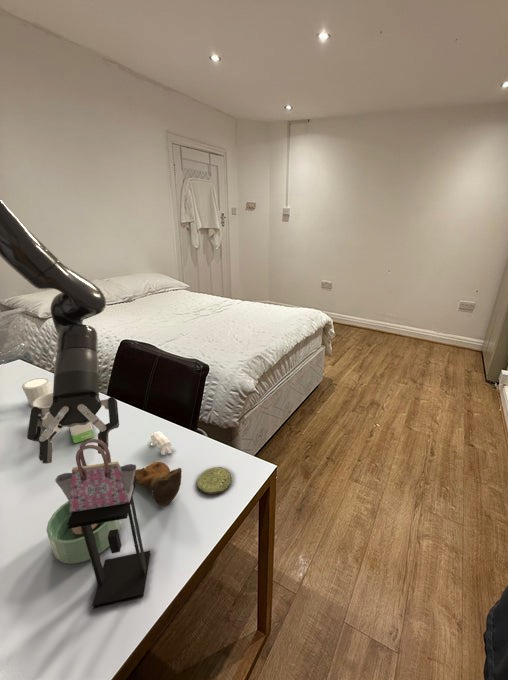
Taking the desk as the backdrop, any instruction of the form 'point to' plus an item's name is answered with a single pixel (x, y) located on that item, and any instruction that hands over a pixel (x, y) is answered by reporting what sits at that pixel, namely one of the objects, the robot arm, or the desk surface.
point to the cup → (45, 402)
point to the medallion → (214, 480)
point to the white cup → (36, 388)
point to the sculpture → (160, 481)
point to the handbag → (103, 506)
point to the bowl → (65, 542)
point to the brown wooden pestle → (79, 533)
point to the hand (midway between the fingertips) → (75, 458)
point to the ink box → (81, 432)
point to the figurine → (161, 442)
